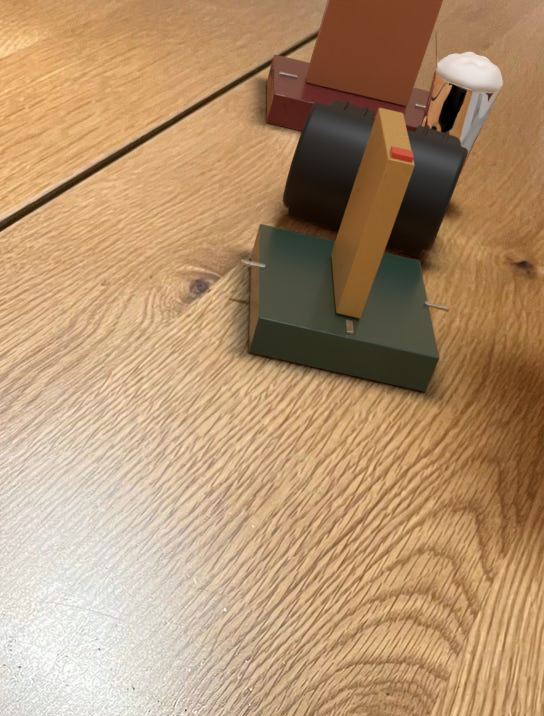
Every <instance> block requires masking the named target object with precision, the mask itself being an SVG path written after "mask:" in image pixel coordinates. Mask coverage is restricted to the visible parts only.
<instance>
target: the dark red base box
mask: <svg viewBox="0 0 544 716" xmlns="http://www.w3.org/2000/svg"><path fill="white" fill-rule="evenodd" d="M272 56H273V57H272V60H271V63H270V68H269V71H268V75H267V79H266V124H270V125H275V126H279V127H283V128H286V129H292V130H295V131H300V132H302V129H303V127H304V124H305V122H306V119H307V117H308V114H309V112H310V110H311V108H312V106H313V105H314V104H315V103H317V102H319V103H322V104H325V105H329V104H330V103H331V102H332V101H335V100H338V101H342V102H345V101H346V100H347V101H349V104H352V105H355V106H358V107H361V108H364V107H365V106H367V107H368V110H371V111H374V112H375V114H374V117H373V119H374V120H375V118H376V115H377V112H378V109H379V108H383V109H388V110H392V111H396V112H400V113H403V115H404V120H405V124H406V129H407V130H410V131H413V132H415V131H416V129H417V127H418V125H420V126H421V122H422V119H423V115H424V111H425V107H426V103H427V99H428V96H429V92H430V90H425V89H421V88H416V87H415V86H414V87H413V90H412V93H411V96H410V99H409V102H408V105H407V106H403V105H399V104H395V103H390V102H386V101H382V100H378V99H374V98H369V97H365V96H361V95H357V94H353V93H348V92H344V91H340V90H336V89H331V88H327V87H323V86H319V85H315V84H310V83H307V82H306V75H307V71H308V68H309V64H310V61H309V62H308V61H305V60H300V59H295V58H291V57H287V56H283V55H278V54H275V53H274V54H273V55H272Z"/></svg>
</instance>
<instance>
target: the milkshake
mask: <svg viewBox="0 0 544 716" xmlns="http://www.w3.org/2000/svg"><path fill="white" fill-rule="evenodd" d="M435 64H436V65H435V69H434V72H433V76H432V80H431V85H430V88H429V91H430V92H429V96H428V99H427V103H426V107H425V111H424V115H423V119H422V122H421V126H423V127H426V125H429V126H430V129H433V130H436V131H439V132H443V133H445V132H446V131H448V132H449V135H452V136H455V137H457V138H458V139H459V140H460V142H461V146H462V147H465V148H466V149H467V150H468V154H467V157H466V160H465V163H464V165H463V168H462V171H461V173H460V175H461V174H462V172H463V170H464V167H465V165H466V163H467V161H468V159H469V157H470V154H471V152H472V150H473V148H474V145H475V143H476V141H477V139H478V137H479V135H480V133H481V131H482V129H483V127H484V125H485V123H486V122H487V119H488V117H489V115H490V113H491V111H492V109H493V107H494V105H495V102H496V100H497V98H498V97H499V94H500V92H501V90H502V88H503V86H504V80H503V75H502V73H501V70H500V68H499V66H497V64H495V63H493V62H492V61H491V60H490V59H489V58H488V57H486V56H484V55H478V54H476V53H475V52H473V51H465V52H462V53H457V52H456V53H451V54H448V55H446V56H445V57H443V58H441V59H440V60H438V32H437V30H435Z"/></svg>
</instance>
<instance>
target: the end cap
mask: <svg viewBox="0 0 544 716" xmlns="http://www.w3.org/2000/svg"><path fill="white" fill-rule="evenodd" d="M374 114H375V112H374V111H371V110H368V107H367V106H365V107H364V108H361V107H358V106H355V105H352V104H349V101H347V100H346V101H345V102H342V101H338V100H335V101H332V102H331V103H330V104H329V105H325V104H322V103H319V102H317V103H315V104H314V105H313V106H312V108H311V110H310V112H309V114H308V117H307V119H306V122H305V124H304V127H303V129H302V131H300V134H299V138H298V141H297V144H296V147H295V149H294V152H293V156H292V160H291V162H290V167H289V170H288V174H287V177H286V180H285V185H284V190H283V195H282V203H283V206H284V207H285V208H288V209H287V216H288V217H290V218H294V219H297V220H301V221H302V222H307V223H309V224H313V225H316V226H319V227H322V228H325V229H328V230H331V231H334V232H337V233H338V232H339V229H340V225H341V222H342V219H343V216H344V213H345V210H346V207H347V204H348V201H349V198H350V195H351V192H352V189H353V185H354V182H355V179H356V176H357V173H358V170H359V167H360V164H361V161H362V158H363V155H364V152H365V149H366V145H367V142H368V139H369V136H370V133H371V130H372V127H373V124H374V121H375V120H374V119H373V117H374ZM407 133H408V137H409V142H410V146H411V151H412V152H413V157H414V158H413V160H414V164H415V166H414V169H413V172H412V175H411V177H410V180H409V183H408V186H407V189H406V191H405V194H404V197H403V200H402V203H401V206H400V208H399V211H398V214H397V217H396V220H395V222H394V225H393V228H392V231H391V234H390V237H389V239H388V242H387V245H386V248H388V249H391V250H394V251H396V252H397V251H398V252H400V253H403V254H406V255H410V256H413V257H415V258H421V256H422V254H423V251H424V252H430V251H431V250H432V249H433V246H434V245H435V241H436V240H437V239H436V238H437V237H438V233H439V232H440V229H441V226H442V223H443V221H444V218H445V216H446V214H447V210H448V208H449V205H450V203H451V200H452V197H453V194H454V192H455V190H456V187H457V185H458V181H459V179H460V176H461V174H462V172H463V170H462V168H463V165H464V163H465V160H466V157H467V154H468V150H467V149H466V148H465V147H462V146H461V142H460V140H459V139H458V138H457V137H455V136H452V135H449V132H448V131H446V132H445V133H443V132H439V131H436V130H433V129H430V126H429V125H426V127H423V126H420V125H418V127H417V129H416V131H415V132H413V131H410V130H407ZM465 164H466V163H465ZM464 166H465V165H464ZM463 169H464V168H463ZM461 171H462V172H461ZM460 173H461V174H460Z"/></svg>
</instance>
